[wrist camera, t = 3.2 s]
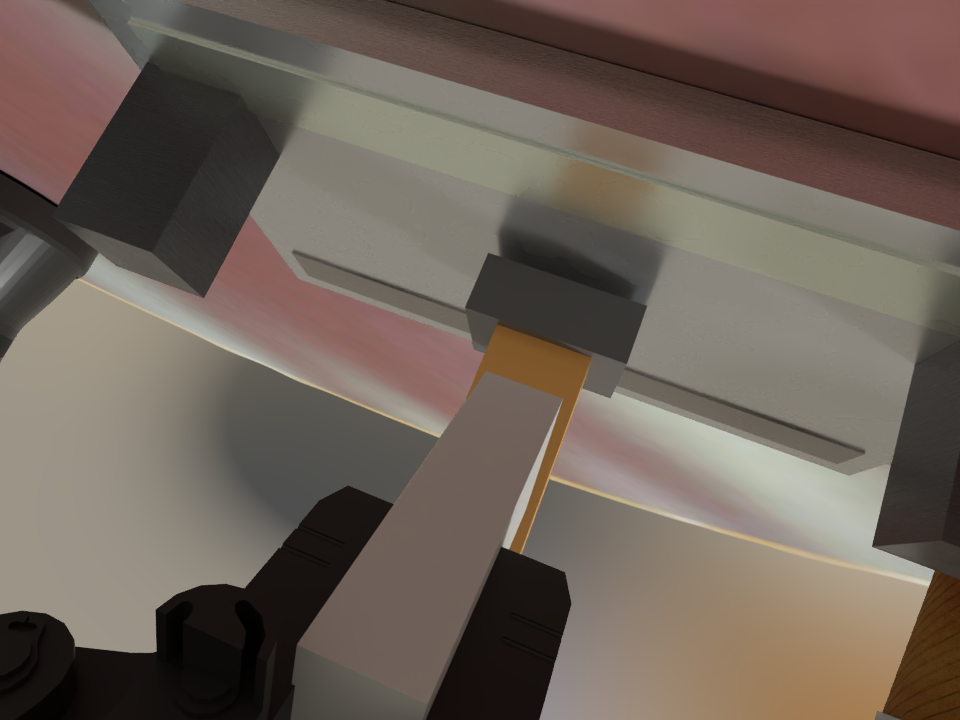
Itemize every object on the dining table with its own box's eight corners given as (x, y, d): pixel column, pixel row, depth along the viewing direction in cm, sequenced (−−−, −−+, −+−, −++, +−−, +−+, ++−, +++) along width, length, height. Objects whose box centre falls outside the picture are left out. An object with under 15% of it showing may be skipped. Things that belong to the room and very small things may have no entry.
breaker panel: (312, 251, 34) (251, 372, 32) (95, -81, 17) (-58, 140, 15) (856, 442, 30) (819, 592, 28) (1309, 258, 13) (1281, 615, 11)
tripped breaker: (493, 302, 25) (381, 570, 23) (488, 252, 21) (353, 569, 19) (628, 348, 24) (527, 632, 22) (647, 305, 21) (528, 643, 18)
